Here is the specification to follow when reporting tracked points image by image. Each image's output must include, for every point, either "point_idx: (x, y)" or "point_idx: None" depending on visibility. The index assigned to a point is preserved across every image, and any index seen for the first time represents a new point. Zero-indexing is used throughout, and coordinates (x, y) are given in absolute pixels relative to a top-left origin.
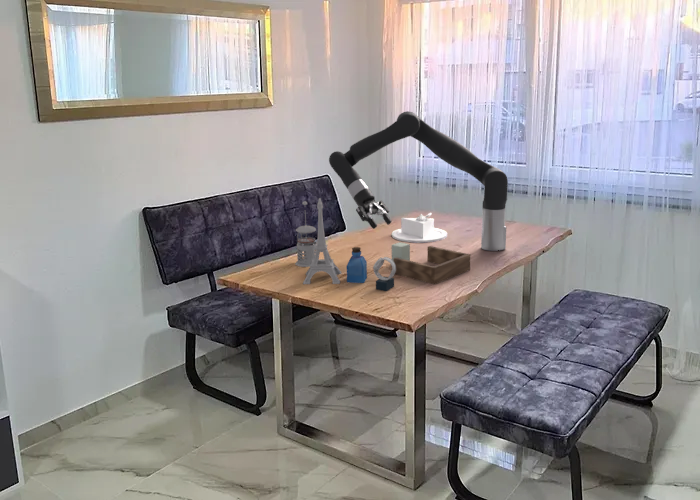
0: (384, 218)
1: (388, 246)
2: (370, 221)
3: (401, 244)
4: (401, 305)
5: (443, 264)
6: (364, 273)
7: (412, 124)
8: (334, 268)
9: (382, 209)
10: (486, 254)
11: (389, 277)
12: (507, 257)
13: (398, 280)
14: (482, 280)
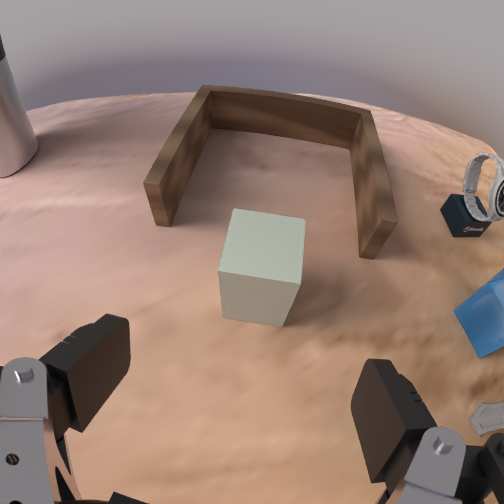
0: (88, 405)
1: None
2: (427, 422)
3: (260, 240)
4: None
5: (330, 101)
6: (491, 279)
7: None
8: None
9: (17, 420)
10: (63, 144)
11: (475, 187)
12: (83, 113)
13: (404, 219)
14: None
